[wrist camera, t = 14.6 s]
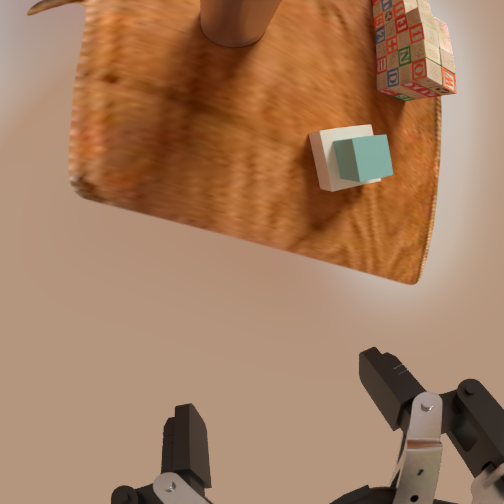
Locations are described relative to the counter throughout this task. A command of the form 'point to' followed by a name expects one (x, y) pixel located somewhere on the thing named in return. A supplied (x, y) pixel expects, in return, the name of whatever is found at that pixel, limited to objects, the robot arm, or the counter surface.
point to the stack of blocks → (412, 51)
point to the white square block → (334, 156)
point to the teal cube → (363, 158)
